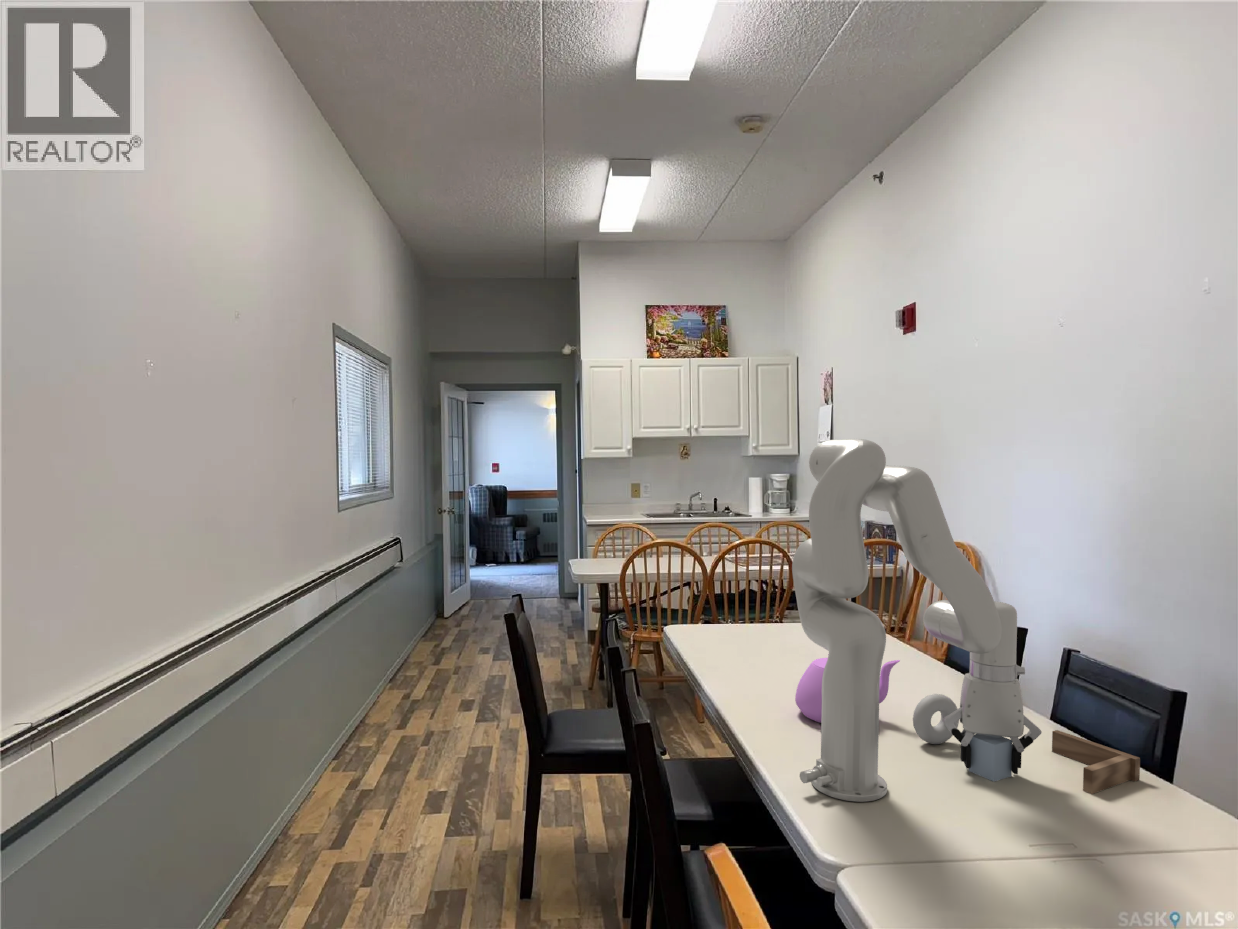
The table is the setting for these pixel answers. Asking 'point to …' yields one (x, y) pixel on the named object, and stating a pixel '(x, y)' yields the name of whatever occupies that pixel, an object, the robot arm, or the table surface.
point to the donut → (925, 714)
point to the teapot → (811, 688)
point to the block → (991, 756)
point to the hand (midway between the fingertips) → (990, 767)
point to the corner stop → (1097, 762)
